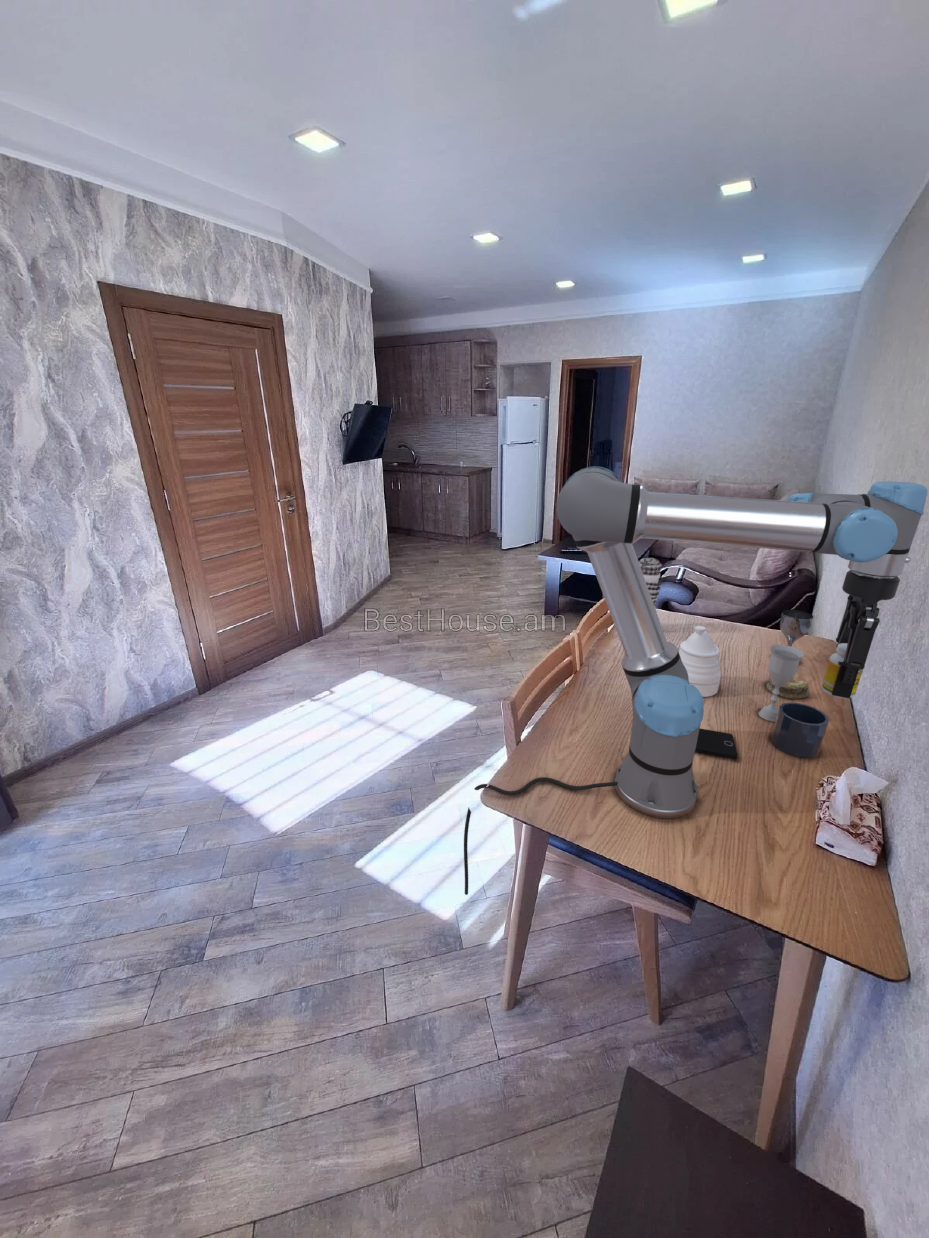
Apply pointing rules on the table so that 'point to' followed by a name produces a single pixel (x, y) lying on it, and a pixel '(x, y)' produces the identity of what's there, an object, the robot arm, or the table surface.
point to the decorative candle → (651, 576)
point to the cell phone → (716, 743)
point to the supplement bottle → (833, 671)
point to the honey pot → (701, 661)
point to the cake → (791, 689)
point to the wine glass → (795, 624)
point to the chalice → (780, 674)
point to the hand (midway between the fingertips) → (838, 688)
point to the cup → (799, 729)
